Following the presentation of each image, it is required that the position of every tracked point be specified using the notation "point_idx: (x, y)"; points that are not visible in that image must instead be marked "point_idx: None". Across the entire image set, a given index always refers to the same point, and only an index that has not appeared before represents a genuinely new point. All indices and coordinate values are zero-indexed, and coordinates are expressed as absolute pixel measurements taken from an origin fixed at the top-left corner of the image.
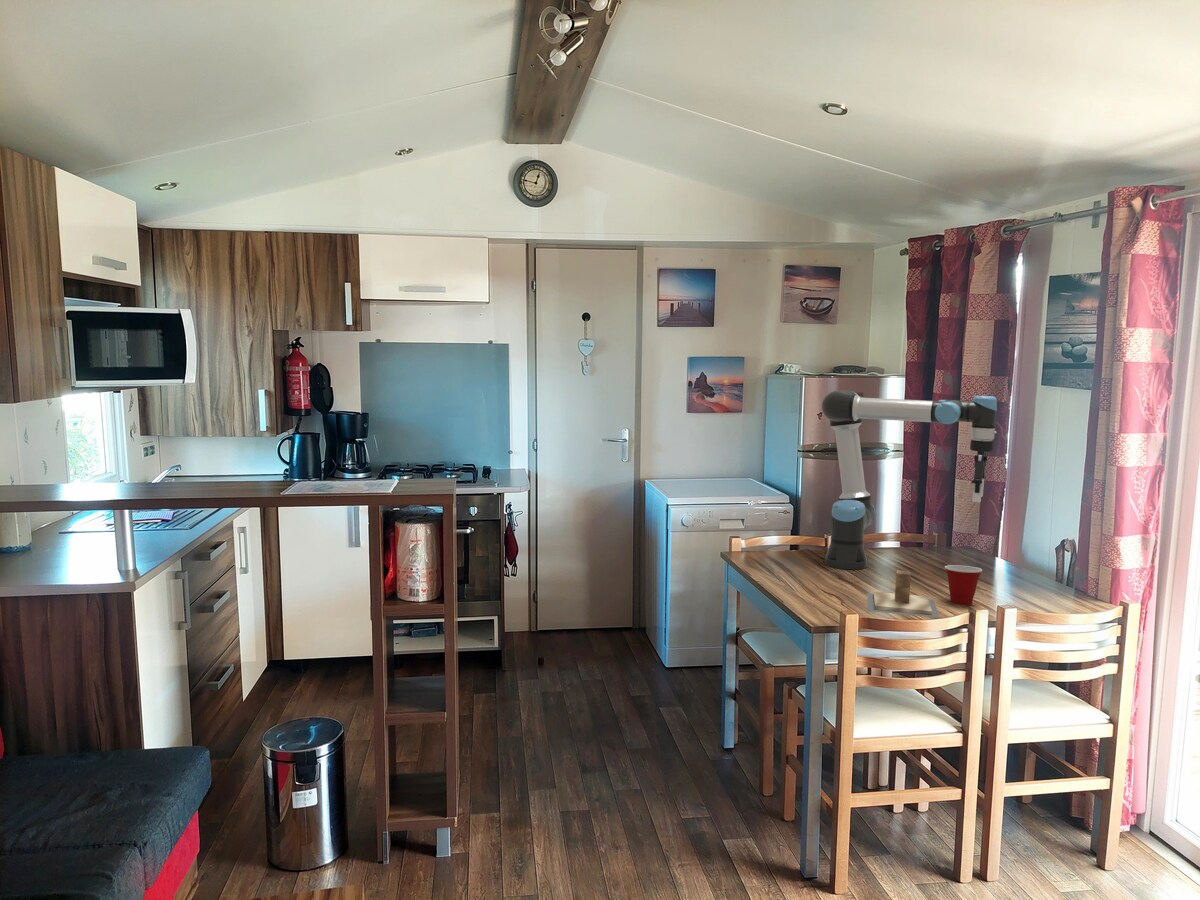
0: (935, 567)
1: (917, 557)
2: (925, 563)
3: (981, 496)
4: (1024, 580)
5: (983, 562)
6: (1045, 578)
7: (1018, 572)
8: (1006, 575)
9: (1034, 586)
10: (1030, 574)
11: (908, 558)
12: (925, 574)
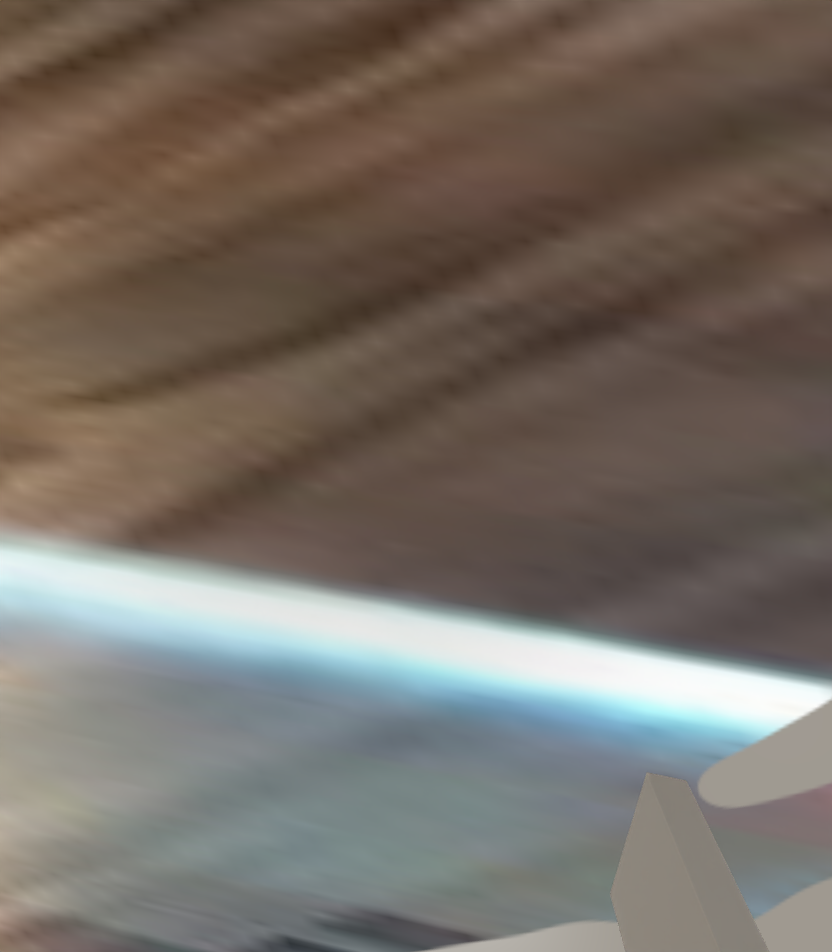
0: (489, 239)
1: (800, 128)
2: (600, 175)
3: (616, 880)
4: (318, 751)
5: (756, 599)
6: (415, 874)
7: (522, 760)
8: (413, 675)
9: (190, 773)
10: (491, 816)
11: (743, 48)
12: (241, 142)
